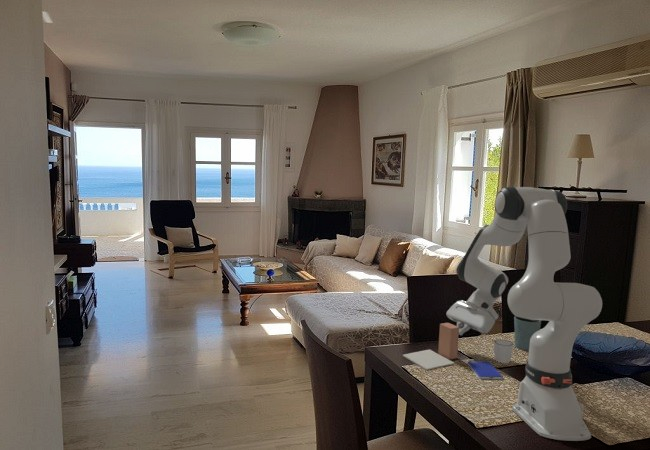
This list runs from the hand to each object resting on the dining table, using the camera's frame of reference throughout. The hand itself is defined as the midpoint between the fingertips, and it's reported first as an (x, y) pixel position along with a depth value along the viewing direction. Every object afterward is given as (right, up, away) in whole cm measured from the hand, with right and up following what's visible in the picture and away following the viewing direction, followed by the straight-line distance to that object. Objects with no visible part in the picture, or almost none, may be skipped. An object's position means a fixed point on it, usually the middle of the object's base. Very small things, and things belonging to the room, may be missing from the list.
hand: (457, 333), depth 182 cm
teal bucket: (+30, -8, +11) cm, 33 cm away
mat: (-13, -9, -5) cm, 16 cm away
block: (-4, -8, -1) cm, 9 cm away
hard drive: (+6, -11, -14) cm, 19 cm away
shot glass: (+16, -9, -4) cm, 19 cm away
